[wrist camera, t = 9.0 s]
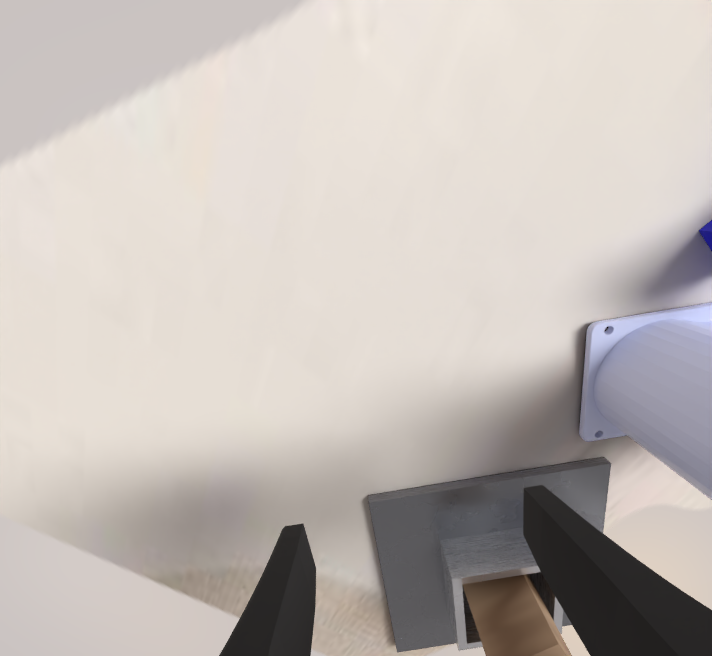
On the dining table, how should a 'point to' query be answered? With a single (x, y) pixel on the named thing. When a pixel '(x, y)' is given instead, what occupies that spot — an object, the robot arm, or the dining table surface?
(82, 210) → the dining table surface
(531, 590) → the rail end post
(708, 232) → the blue rectangular block
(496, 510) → the grey square socket base
